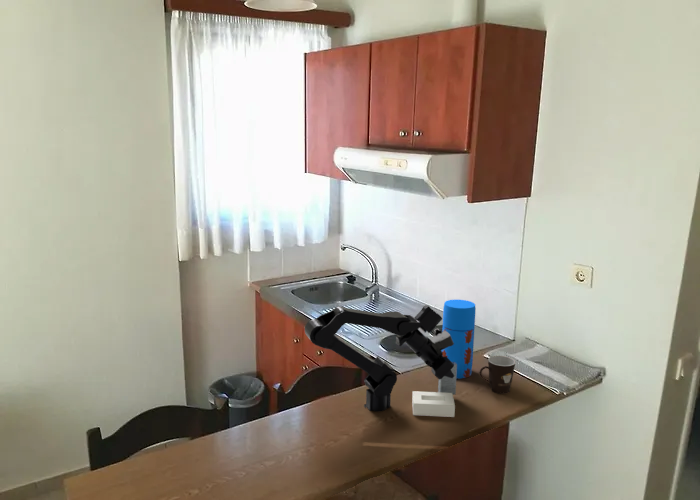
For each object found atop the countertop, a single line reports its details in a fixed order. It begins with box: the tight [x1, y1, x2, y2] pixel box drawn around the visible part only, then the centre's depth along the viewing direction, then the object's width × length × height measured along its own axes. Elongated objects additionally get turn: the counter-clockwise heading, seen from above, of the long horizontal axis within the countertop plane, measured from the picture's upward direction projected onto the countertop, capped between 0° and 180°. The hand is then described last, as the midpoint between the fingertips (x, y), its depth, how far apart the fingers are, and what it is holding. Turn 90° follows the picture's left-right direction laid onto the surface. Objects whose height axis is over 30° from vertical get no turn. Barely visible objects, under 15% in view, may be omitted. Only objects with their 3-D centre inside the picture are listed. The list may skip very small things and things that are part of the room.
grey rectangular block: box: [437, 362, 457, 396], centre depth 174 cm, size 5×2×10 cm, turn 100°
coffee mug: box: [479, 355, 516, 395], centre depth 183 cm, size 12×9×10 cm
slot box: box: [411, 390, 456, 418], centre depth 168 cm, size 12×8×4 cm, turn 86°
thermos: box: [441, 299, 476, 379], centre depth 195 cm, size 11×11×25 cm
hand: (451, 375), depth 174 cm, fingers closed on grey rectangular block, 2 cm apart
